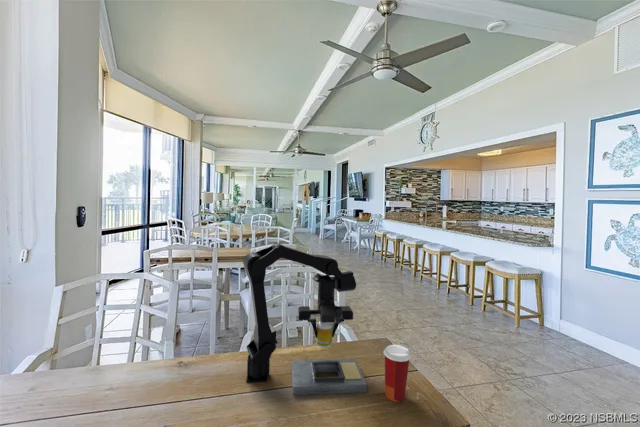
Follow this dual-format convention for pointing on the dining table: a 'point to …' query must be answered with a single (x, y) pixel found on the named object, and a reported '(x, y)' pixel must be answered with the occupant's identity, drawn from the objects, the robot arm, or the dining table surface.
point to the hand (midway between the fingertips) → (324, 336)
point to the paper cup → (396, 371)
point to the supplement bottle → (324, 334)
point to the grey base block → (310, 384)
